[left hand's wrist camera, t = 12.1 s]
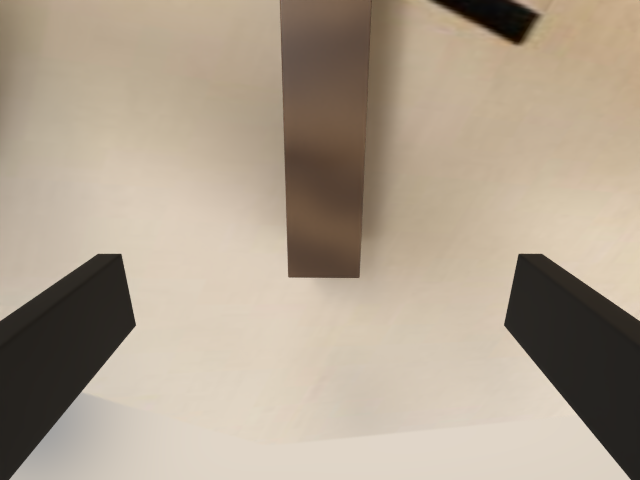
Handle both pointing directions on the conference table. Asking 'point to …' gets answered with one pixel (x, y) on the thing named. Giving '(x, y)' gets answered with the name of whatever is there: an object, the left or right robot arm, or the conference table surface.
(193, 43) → the conference table surface
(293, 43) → the beam
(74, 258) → the conference table surface
